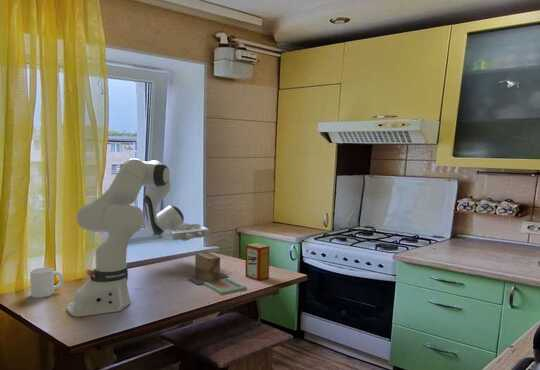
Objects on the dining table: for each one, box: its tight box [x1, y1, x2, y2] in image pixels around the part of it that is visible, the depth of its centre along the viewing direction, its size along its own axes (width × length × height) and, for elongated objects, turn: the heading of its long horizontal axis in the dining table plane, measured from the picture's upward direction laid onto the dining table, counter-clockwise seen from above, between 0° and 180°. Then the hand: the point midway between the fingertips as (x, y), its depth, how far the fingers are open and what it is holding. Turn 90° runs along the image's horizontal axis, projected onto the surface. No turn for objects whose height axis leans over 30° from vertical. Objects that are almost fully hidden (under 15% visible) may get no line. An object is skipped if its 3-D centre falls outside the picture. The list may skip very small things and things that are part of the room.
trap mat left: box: [187, 276, 206, 286], centre depth 191 cm, size 5×10×1 cm, turn 37°
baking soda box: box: [244, 242, 270, 282], centre depth 199 cm, size 10×6×16 cm
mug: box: [29, 266, 64, 299], centre depth 171 cm, size 12×8×10 cm
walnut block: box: [194, 251, 221, 284], centre depth 197 cm, size 6×13×11 cm, turn 37°
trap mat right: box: [220, 272, 229, 280], centre depth 202 cm, size 5×10×1 cm, turn 37°
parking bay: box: [203, 277, 248, 295], centre depth 185 cm, size 13×16×1 cm
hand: (196, 236), depth 205 cm, fingers open, 3 cm apart
